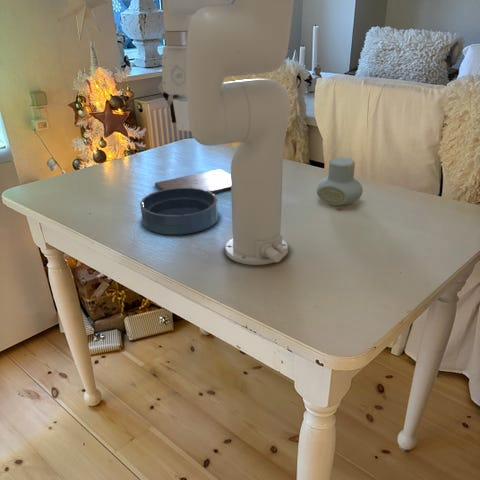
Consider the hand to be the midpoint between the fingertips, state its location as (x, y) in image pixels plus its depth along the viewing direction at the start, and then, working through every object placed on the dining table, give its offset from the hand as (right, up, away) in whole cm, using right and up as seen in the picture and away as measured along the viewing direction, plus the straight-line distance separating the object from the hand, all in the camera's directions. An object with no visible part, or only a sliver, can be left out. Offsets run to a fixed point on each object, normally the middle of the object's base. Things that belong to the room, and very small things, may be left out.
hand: (188, 122), depth 120 cm
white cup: (0, -1, +1) cm, 2 cm away
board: (+2, -13, +11) cm, 17 cm away
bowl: (-1, -25, -7) cm, 27 cm away
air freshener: (+37, -20, 0) cm, 42 cm away
